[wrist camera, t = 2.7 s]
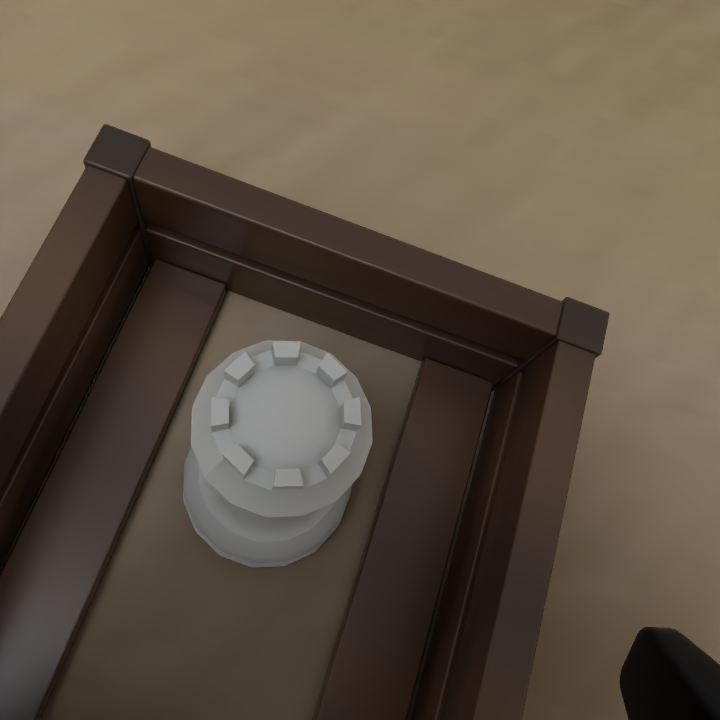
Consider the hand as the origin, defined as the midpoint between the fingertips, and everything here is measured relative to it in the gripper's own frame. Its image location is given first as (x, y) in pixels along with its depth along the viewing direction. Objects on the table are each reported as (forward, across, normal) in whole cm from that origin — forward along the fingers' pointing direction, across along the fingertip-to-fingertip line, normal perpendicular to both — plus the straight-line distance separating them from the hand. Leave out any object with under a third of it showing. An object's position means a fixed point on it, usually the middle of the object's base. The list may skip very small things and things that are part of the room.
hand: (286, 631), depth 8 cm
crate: (+8, 0, +6) cm, 10 cm away
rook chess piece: (+10, 0, +5) cm, 11 cm away
